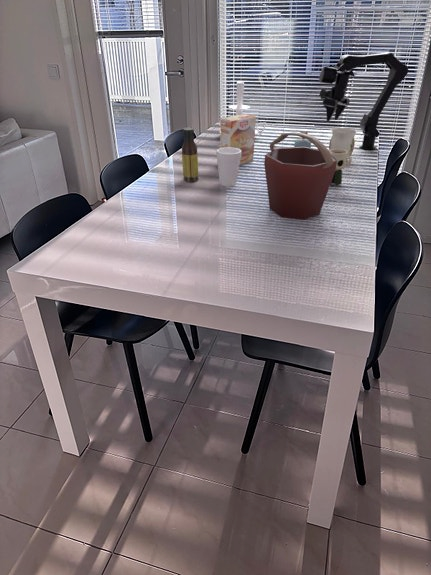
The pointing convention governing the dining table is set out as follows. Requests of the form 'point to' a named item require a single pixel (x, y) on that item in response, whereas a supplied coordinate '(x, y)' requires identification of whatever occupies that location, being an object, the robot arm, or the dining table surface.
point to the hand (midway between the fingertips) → (331, 120)
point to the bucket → (298, 178)
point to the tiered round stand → (302, 143)
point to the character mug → (339, 164)
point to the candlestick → (241, 107)
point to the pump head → (304, 132)
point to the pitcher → (343, 140)
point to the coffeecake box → (239, 135)
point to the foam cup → (228, 165)
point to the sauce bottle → (189, 156)
